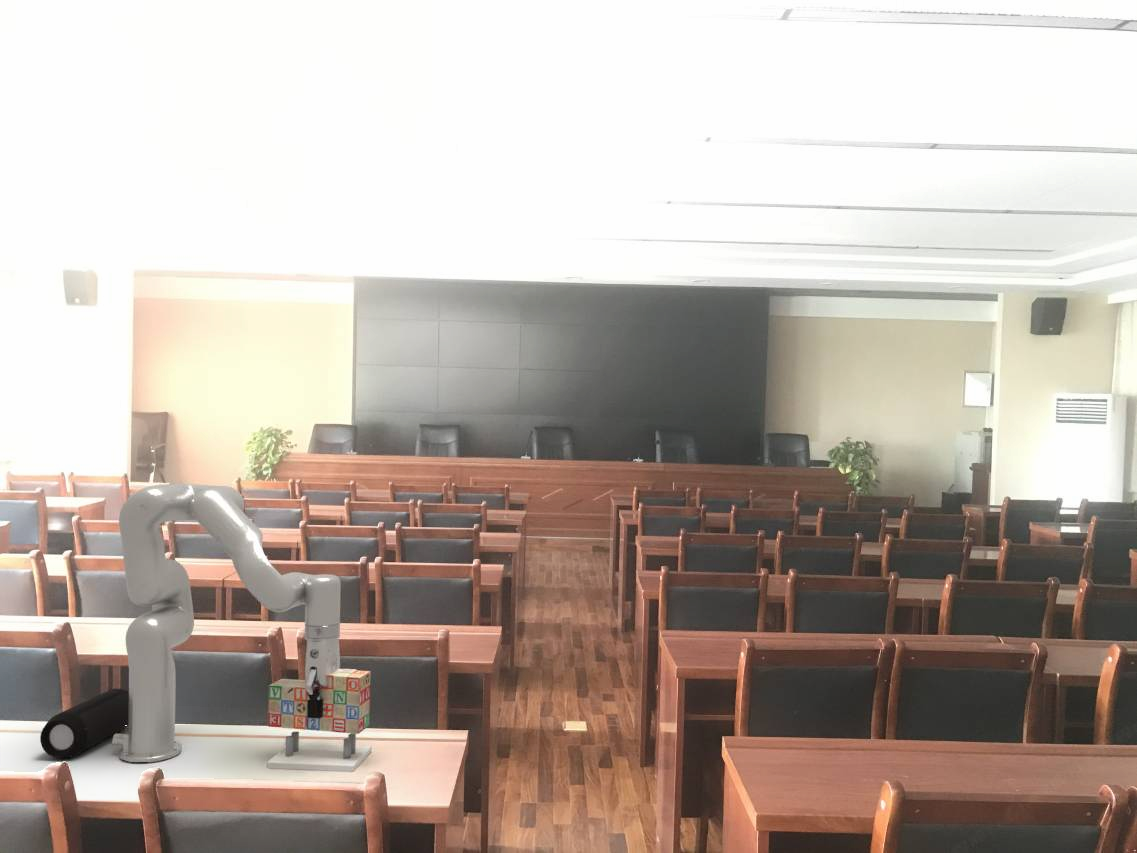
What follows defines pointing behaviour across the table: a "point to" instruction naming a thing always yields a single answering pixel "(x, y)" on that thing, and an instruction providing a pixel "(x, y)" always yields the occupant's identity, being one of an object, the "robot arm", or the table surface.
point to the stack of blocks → (340, 703)
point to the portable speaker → (86, 724)
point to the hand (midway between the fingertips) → (321, 712)
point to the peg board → (320, 755)
